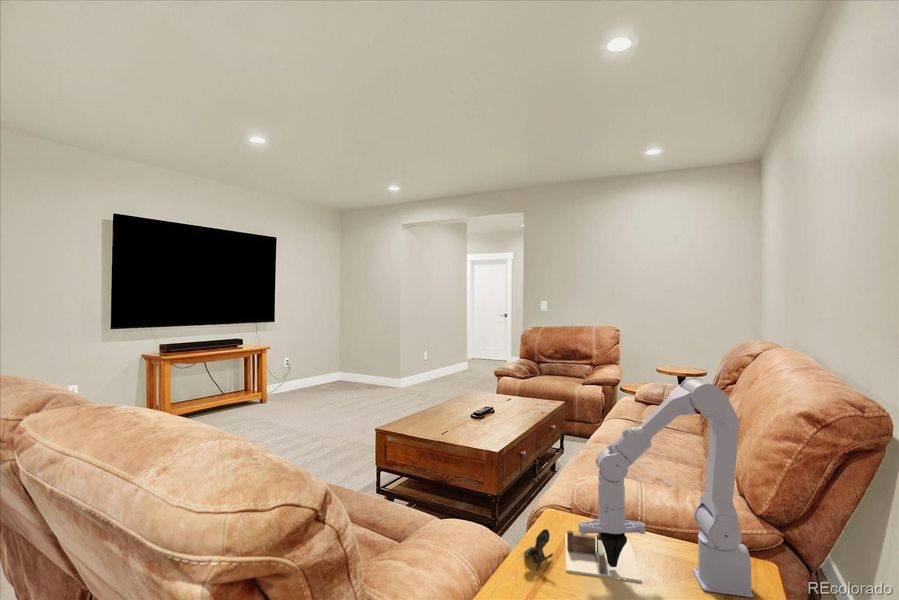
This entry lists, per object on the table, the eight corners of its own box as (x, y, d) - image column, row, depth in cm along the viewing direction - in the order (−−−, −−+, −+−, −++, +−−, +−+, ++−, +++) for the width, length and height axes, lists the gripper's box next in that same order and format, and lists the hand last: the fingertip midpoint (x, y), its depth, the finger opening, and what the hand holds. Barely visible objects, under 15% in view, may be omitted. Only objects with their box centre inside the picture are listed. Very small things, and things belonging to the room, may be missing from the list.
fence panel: (597, 554, 107) (597, 539, 107) (602, 555, 106) (602, 540, 106) (598, 571, 100) (598, 555, 100) (604, 572, 99) (604, 556, 100)
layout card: (629, 543, 113) (629, 540, 113) (641, 582, 97) (641, 580, 97) (565, 535, 117) (565, 533, 117) (566, 572, 101) (566, 569, 101)
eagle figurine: (562, 567, 101) (556, 540, 110) (545, 543, 100) (540, 517, 109) (533, 582, 102) (530, 553, 111) (517, 558, 101) (514, 531, 110)
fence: (602, 552, 108) (602, 534, 108) (603, 555, 107) (603, 537, 107) (567, 548, 110) (567, 530, 110) (567, 551, 109) (567, 533, 109)
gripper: (635, 496, 105) (635, 554, 105) (574, 497, 105) (575, 555, 105) (649, 510, 98) (649, 572, 98) (584, 510, 98) (584, 573, 98)
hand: (612, 564), depth 101 cm, fingers closed
